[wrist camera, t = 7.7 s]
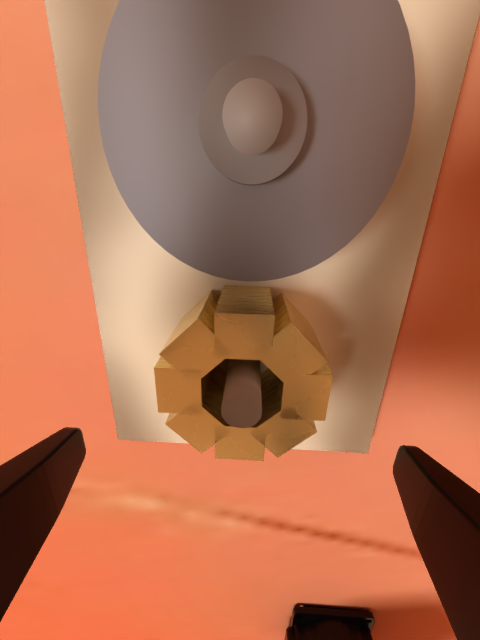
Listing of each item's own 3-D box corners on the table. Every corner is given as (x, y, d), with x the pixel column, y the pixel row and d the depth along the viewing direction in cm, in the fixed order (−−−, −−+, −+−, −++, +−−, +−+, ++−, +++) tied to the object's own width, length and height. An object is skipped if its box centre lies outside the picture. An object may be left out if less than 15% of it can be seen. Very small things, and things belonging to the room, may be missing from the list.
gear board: (470, -30, 10) (723, -301, 4) (360, 436, 17) (407, 538, 12) (58, -32, 10) (-150, -283, 5) (126, 424, 18) (73, 517, 12)
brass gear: (319, 288, 13) (342, 318, 9) (303, 407, 15) (317, 463, 12) (174, 283, 13) (148, 310, 10) (181, 401, 15) (162, 455, 12)
